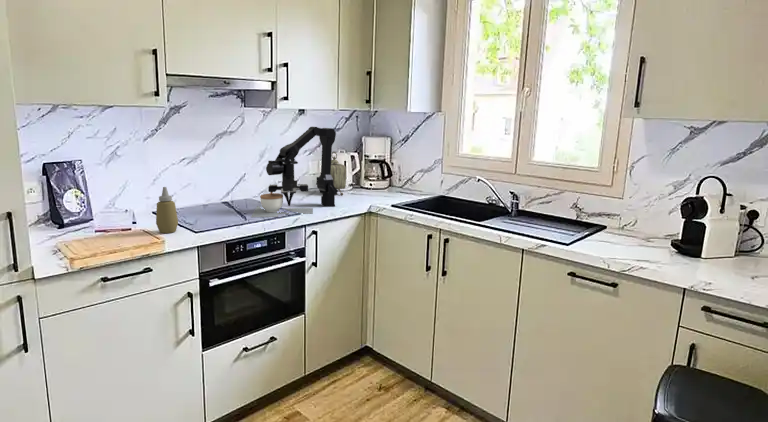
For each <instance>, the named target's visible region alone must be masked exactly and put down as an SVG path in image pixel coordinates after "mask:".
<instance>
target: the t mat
mask: <svg viewBox="0 0 768 422" xmlns="http://www.w3.org/2000/svg"><path fill="white" fill-rule="evenodd" d="M259 206H260V205H257V206H256V207H255V209H254V210H253V212H252V214H251V216H250V218H278V217H279V215H290V214H289V213H286V212H285V213H284V212H281V213H280V212H279V213H277V212H266V210H264V209H261V208H260V207H259ZM281 208H282V207H281ZM282 209H285V210H288V211H292V212H298V213H303V214H302V215H313V214H314V208H313V207H312V208H311V207H307V208H306V207H299V208H298V207H297V208H295V207H293V208H291V207H290V208H284V207H283V208H282Z"/></svg>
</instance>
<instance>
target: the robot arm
mask: <svg viewBox="0 0 768 422" xmlns="http://www.w3.org/2000/svg"><path fill="white" fill-rule="evenodd" d="M336 132H337V131H336V130H335V129H334V128H332V127H322V128H321V127H318V126H310V127H308V129H307V130H306V131H304V132H303V133H302V134H301V135H299V137H298V138H296V139H295V140H294V141H293V142H291V143H287V144H286V145H284V146H283V147H281V148H280V149H279V153H278V154H277V156H276V158H275V160H268V163H267V164H266V168H265V169H266V170H265V171H266V174H267V175H268V176H275V175H276V176H278V175H281V180H282V182H281V185H278V184H270V185H268V193H270V192H273V193H277V191H280V194H283V197H284V198H285V200H286V203H287V205H288V206H291V203H292V199H293V196H294V194H296V193H297V191H301V192H309V185H308V184H307V183H305V184H303V183H302V184H301V183H300V184H299V185H298V180H295V165H297V164H299V162H298V161H297V160H296V159H295V158H296V157H297V156H298V155H299V152H300V150H301V149H302V148H303V147H305V146H306V145H307V144H308V143H309V142H310V141H311V140H312V139H314V138H315V137H319V141H320V144H321V164H320V165H321V167H320V175H319V176H316V184H315V185H316V187H317V189H318V191H319V194H321V195H322V196H321V197H320V198H321V199H320V205H321V207H335V206H336V202H335V201H336V199H335V196H336V195H338V192H339V190H338V189H336V188H335V187H334V185H333V179H332V176H331V160H332V152H333V151H332V150H333V149H332V147H333V145H334V143H335V141H336V137H337V136H336V135H337V133H336Z"/></svg>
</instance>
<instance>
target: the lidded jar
mask: <svg viewBox="0 0 768 422" xmlns="http://www.w3.org/2000/svg"><path fill="white" fill-rule="evenodd" d="M283 203H284V194H282V193H277V192H268V193H263V194H261V195H260V204H261V205H260V206H262V207H263V208H264V209H265V210H266V212H277V211H279V209H280V208H282V206H283Z"/></svg>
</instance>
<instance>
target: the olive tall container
mask: <svg viewBox="0 0 768 422" xmlns="http://www.w3.org/2000/svg"><path fill="white" fill-rule="evenodd" d="M333 154H335V156H334V155H333ZM337 157H338V154H337V152H335V151H332V153H331V176H332V179H333V185H334V187H335V188H336V189H337V190H338V192H339V193H340V195H341V196H343V195H344V192H342V191H341V190H342V189H343V190H344V189H346V186H347V170H346V169H347V168H346V166H345V165H344V164H342V163H339V161H338V160H337V159H338V158H337Z"/></svg>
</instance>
